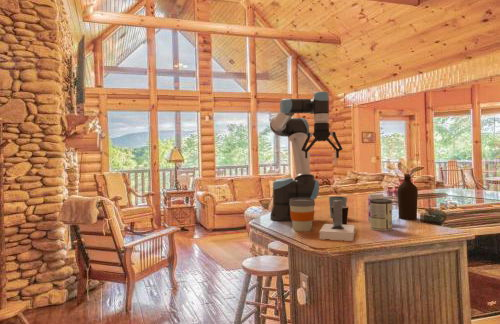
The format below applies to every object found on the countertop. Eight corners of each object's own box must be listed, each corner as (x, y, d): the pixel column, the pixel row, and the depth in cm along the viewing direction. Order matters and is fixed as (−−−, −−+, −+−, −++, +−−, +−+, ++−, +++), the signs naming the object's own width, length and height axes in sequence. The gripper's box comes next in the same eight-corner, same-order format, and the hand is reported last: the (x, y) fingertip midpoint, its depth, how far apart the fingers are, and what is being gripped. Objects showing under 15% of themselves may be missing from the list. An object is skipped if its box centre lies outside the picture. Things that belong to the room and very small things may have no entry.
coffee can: (370, 226, 191) (370, 198, 190) (392, 227, 187) (391, 199, 187) (369, 230, 181) (369, 201, 181) (392, 231, 178) (392, 201, 177)
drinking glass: (328, 218, 215) (328, 197, 214) (330, 216, 224) (329, 196, 224) (346, 219, 212) (346, 198, 211) (347, 216, 221) (347, 196, 221)
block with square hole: (324, 231, 181) (324, 223, 181) (354, 232, 177) (354, 225, 176) (319, 239, 164) (319, 231, 164) (352, 240, 159) (352, 232, 159)
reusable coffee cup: (318, 228, 188) (317, 198, 188) (311, 233, 177) (311, 201, 177) (294, 226, 194) (293, 197, 193) (286, 231, 182) (285, 200, 182)
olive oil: (405, 220, 206) (404, 174, 205) (393, 217, 216) (393, 174, 215) (422, 219, 208) (421, 174, 207) (410, 216, 218) (409, 173, 218)
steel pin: (333, 234, 173) (333, 199, 172) (342, 235, 171) (342, 200, 171) (332, 236, 169) (332, 201, 168) (342, 236, 168) (341, 201, 167)
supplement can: (367, 222, 201) (367, 194, 200) (369, 220, 208) (368, 193, 208) (384, 223, 198) (383, 195, 197) (384, 220, 205) (384, 193, 205)
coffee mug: (349, 228, 187) (349, 208, 187) (331, 227, 188) (331, 208, 188) (347, 223, 198) (347, 205, 198) (331, 223, 200) (331, 204, 200)
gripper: (295, 123, 189) (296, 165, 190) (346, 121, 182) (346, 164, 182) (298, 124, 196) (298, 164, 197) (347, 122, 189) (347, 164, 189)
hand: (322, 164), depth 189 cm, fingers open, 13 cm apart
